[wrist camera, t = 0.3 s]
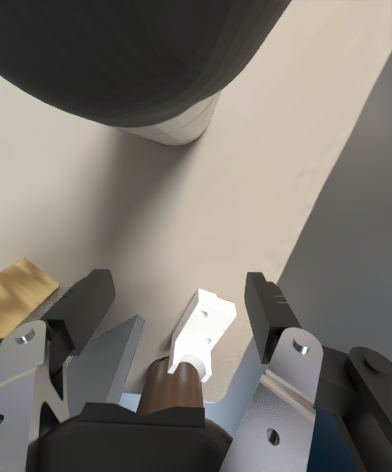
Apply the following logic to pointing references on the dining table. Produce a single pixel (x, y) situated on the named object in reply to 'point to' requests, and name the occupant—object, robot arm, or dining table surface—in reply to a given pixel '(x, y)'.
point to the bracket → (200, 332)
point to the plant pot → (170, 388)
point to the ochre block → (21, 293)
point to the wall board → (102, 367)
